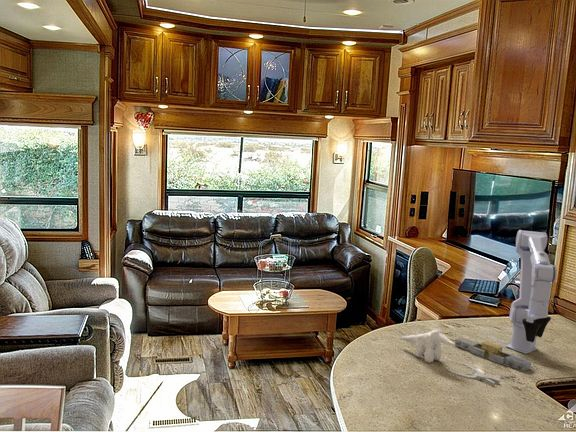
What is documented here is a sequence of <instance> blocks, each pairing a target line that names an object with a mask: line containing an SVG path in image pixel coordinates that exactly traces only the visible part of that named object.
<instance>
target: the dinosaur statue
mask: <svg viewBox="0 0 576 432" xmlns="http://www.w3.org/2000/svg"><path fill="white" fill-rule="evenodd" d="M419 332H420V331H417V332H414V334H413V333H411V334H408V335H406V334H404V336H398V337H397V338H398V339H401V340H402V341H405V342H407V343H410V344H412V345H414V346H415V347H416V351H415V355H414V356H415V357H417V358H421V357H422V356H424V362H426V363H432V362H433V361H440V360H441V358H442V349H441V344H446V345H449V346H455V342H453V341H451V339H449V337H448V336H446V334H444V331H443V330H442V329H439V328H438V329H434V330H431V331H428V332H425V333H419Z"/></svg>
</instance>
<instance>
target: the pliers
mask: <svg viewBox="0 0 576 432" xmlns="http://www.w3.org/2000/svg"><path fill="white" fill-rule="evenodd" d="M461 364H463V365H462V366H464V365H466V366H467V367H466V366H465V367H466V368H468V367H469V368H468V369H470V368H471V369H470V370H471V373H465V372H463V373H462V372H457V371H455V370H451V369H449V368H445V370H446V371H447V370H448V371H447V372H449V371H450V372H449V373H451V372H452V373H451V374H453V373H455V374H454V375H456V374H458V375H457V376H459V375H461V376H460V377H462V376H464V377H463V378H466V377H467V378H466V379H471V378H472V379H473V380H477V381H482V382H483V383H485V384H486V385H489V386H491V387H495V386H496V385H498V384H499V385H500V379H498V378H496V377H494V376H490V375H488V374H482V372H481V371H479V370H478V369H477V368H475V367H473V366H472V365H469V364H467V363H465V362H462V363H461ZM474 371H475V372H474ZM476 373H477V374H476ZM465 374H467V375H465ZM474 374H475V375H474ZM471 375H472V376H471Z"/></svg>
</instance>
